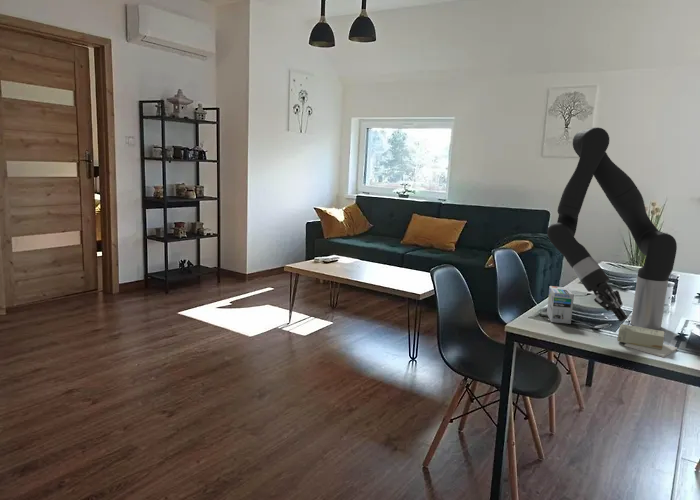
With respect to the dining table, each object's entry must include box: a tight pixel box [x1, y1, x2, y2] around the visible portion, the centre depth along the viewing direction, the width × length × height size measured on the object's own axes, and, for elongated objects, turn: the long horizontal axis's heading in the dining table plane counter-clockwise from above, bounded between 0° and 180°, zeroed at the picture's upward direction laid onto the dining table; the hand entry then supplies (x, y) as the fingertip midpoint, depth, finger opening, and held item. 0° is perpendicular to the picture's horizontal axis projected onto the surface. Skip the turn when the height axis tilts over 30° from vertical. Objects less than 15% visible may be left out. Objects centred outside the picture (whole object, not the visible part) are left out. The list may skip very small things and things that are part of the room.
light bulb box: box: [546, 285, 575, 325], centre depth 185 cm, size 11×7×11 cm, turn 168°
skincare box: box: [617, 323, 666, 350], centre depth 162 cm, size 6×4×12 cm
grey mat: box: [624, 343, 678, 358], centre depth 160 cm, size 11×11×1 cm
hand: (624, 319), depth 162 cm, fingers closed
